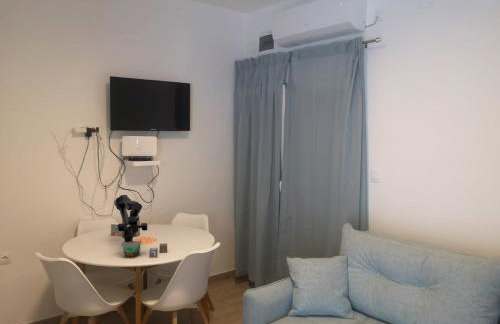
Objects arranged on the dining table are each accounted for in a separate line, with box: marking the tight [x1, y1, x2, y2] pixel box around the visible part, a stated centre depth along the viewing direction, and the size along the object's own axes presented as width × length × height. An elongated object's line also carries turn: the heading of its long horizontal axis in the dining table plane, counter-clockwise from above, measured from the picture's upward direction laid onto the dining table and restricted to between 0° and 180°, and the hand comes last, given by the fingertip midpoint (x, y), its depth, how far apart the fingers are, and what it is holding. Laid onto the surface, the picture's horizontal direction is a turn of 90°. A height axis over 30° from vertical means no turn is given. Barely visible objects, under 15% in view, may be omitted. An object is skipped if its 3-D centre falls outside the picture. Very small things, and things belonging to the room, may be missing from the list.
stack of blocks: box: [110, 219, 141, 238], centre depth 290 cm, size 21×6×12 cm, turn 84°
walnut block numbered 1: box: [158, 242, 168, 254], centre depth 253 cm, size 5×5×5 cm
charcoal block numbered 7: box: [148, 247, 159, 258], centre depth 243 cm, size 5×5×5 cm
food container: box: [121, 239, 142, 258], centre depth 241 cm, size 12×6×10 cm, turn 103°
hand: (131, 238), depth 242 cm, fingers closed
